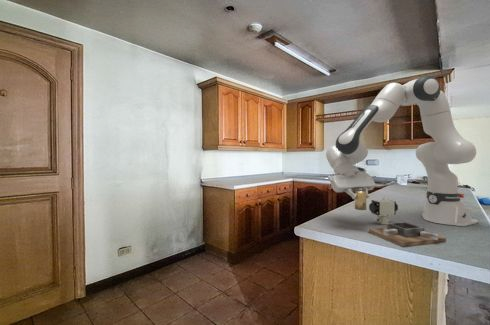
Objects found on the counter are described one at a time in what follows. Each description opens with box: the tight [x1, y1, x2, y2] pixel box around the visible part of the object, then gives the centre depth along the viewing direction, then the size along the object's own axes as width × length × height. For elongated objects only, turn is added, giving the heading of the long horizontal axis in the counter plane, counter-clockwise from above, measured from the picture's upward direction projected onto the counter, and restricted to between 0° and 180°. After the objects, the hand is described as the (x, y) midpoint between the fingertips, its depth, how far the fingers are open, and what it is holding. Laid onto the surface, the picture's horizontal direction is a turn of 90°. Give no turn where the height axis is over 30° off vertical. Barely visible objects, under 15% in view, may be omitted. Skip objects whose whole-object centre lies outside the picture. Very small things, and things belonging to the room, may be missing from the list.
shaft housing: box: [368, 221, 447, 248], centre depth 91 cm, size 20×17×4 cm
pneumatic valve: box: [368, 198, 399, 226], centre depth 109 cm, size 6×12×12 cm, turn 98°
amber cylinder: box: [354, 188, 367, 211], centre depth 100 cm, size 4×4×9 cm
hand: (361, 197), depth 99 cm, fingers closed on amber cylinder, 4 cm apart
